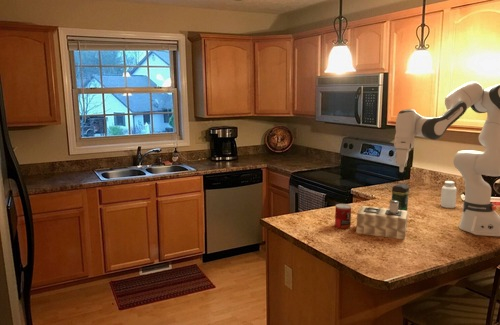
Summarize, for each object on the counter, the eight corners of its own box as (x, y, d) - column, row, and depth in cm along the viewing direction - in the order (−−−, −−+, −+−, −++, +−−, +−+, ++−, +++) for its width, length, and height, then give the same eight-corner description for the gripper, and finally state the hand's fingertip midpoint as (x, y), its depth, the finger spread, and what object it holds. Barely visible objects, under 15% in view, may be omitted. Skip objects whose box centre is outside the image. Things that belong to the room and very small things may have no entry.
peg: (397, 220, 200) (398, 200, 198) (397, 222, 196) (398, 202, 194) (389, 219, 201) (390, 199, 200) (388, 221, 198) (389, 201, 196)
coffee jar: (403, 221, 218) (405, 187, 214) (388, 218, 222) (390, 184, 219) (409, 216, 225) (411, 183, 222) (394, 214, 230) (396, 181, 227)
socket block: (406, 230, 204) (407, 209, 202) (404, 239, 191) (405, 218, 189) (360, 224, 212) (361, 205, 211) (356, 233, 200) (357, 212, 198)
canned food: (341, 230, 204) (342, 208, 202) (331, 225, 211) (332, 204, 209) (353, 227, 208) (354, 206, 206) (343, 223, 215) (344, 202, 213)
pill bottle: (440, 207, 242) (442, 182, 240) (440, 204, 249) (442, 179, 247) (455, 209, 239) (457, 183, 237) (454, 205, 247) (456, 180, 244)
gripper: (399, 141, 208) (396, 168, 210) (394, 145, 190) (392, 174, 192) (412, 142, 206) (410, 169, 208) (409, 146, 187) (406, 175, 189)
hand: (401, 171), depth 200 cm, fingers closed
